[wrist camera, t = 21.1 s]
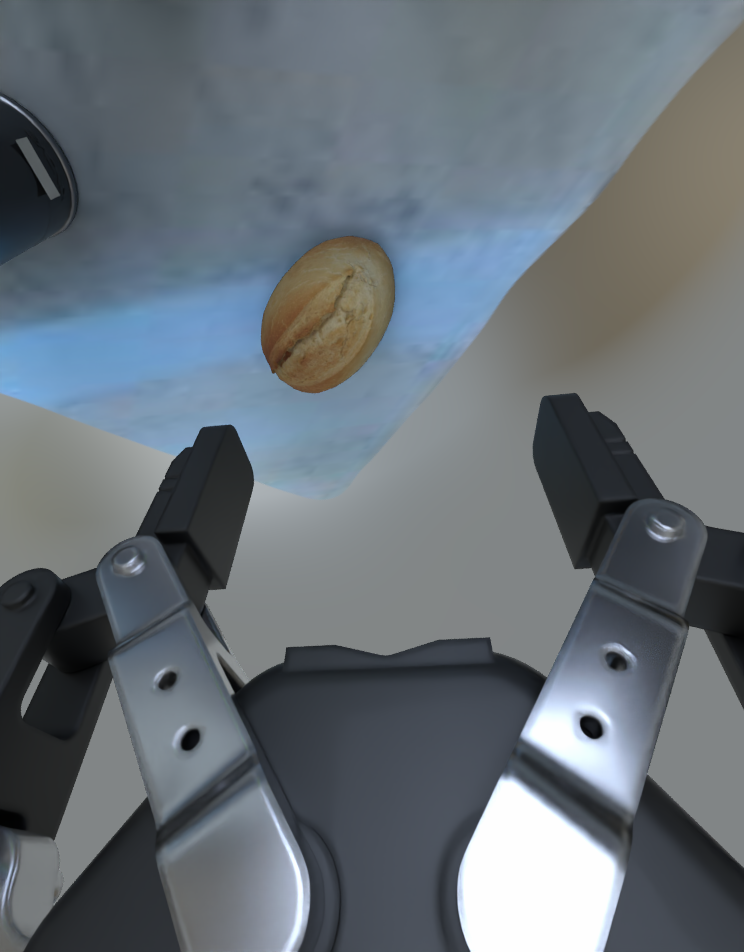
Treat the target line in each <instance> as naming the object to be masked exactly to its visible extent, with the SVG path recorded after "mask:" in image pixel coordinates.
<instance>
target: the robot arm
mask: <svg viewBox="0 0 744 952" xmlns="http://www.w3.org/2000/svg"><path fill="white" fill-rule="evenodd" d="M76 210H77V188H76V184H75V180H74V176H73V173H72V171H71V168H70V166H69V164H68V161H67V159H66V158H65V156H64V154H63V152H62V150H61V149H60V147H59V146H58V144H57V143H56V141H55V140H54V138H53V137H52V136H51V135H50V133H49V132H48V131H47V130H46V129H45V127H44V126H43V125H42V124H41V123H40V122H39V121H38V120H37V119H36V118H35V117H34V116H33V115H32V114H31V113H29V112H28V111H27V110H26V109H25V108H23V107H22V106H21V105H19V104H18V103H16V102H15V101H13V100H12V99H10V98H8V97H7V96H5V95H3V94H1V93H0V266H1V265H3V264H4V263H6V262H8V261H9V260H11V259H13V258H14V257H16V256H18V255H20V254H21V253H23V252H25V251H26V250H28V249H30V248H31V247H33V246H35V245H37V244H39V243H40V242H42V241H44V240H45V239H47V238H49V237H52V236H55V235H57V234H59V233H60V232H62V231H63V230H65V229H66V228H67V227H68V226H69V225H70V224H71V222H72V221H73V219H74V217H75V214H76ZM533 459H534V464H535V467H536V470H537V472H538V475H539V478H540V480H541V483H542V485H543V488H544V491H545V493H546V496H547V498H548V501H549V504H550V506H551V509H552V511H553V514H554V517H555V519H556V522H557V524H558V527H559V530H560V532H561V535H562V538H563V540H564V543H565V545H566V548H567V551H568V553H569V556H570V558H571V561H572V564H573V566H574V569H583V568H592V570H593V573H594V575H595V578H594V579H593V581H592V583H591V586H590V588H589V590H588V592H587V594H586V596H585V598H584V601H583V603H582V605H581V607H580V609H579V611H578V614H577V615H576V618H575V620H574V622H573V624H572V626H571V628H570V631H569V632H568V635H567V637H566V639H565V641H564V643H563V645H562V647H561V650H560V652H559V654H558V656H557V658H556V660H555V662H554V664H553V667H552V669H551V671H550V673H549V675H548V677H545V676H544V675H543V674H541V673H540V672H539V671H537V670H535V669H534V668H532V667H530V666H529V665H527V664H525V663H523V662H521V661H519V660H516V659H515V658H512V657H509V656H506V655H503V654H499V653H495V652H493V651H492V646H491V640H490V637H489V638H470V639H469V638H468V639H448V640H437V641H434V642H430V643H427V644H424V645H421V646H418V647H415V648H412V649H408V650H405V651H402V652H399V653H396V654H392V655H388V656H384V655H378V654H373V653H369V652H364V651H360V650H355V649H351V648H346V647H342V646H337V645H325V646H304V647H288V648H286V654H285V661H284V663H281V664H278V665H276V666H274V667H272V668H270V669H268V670H266V671H264V672H263V673H261V674H259V675H258V676H256V677H255V678H253V679H252V680H251V681H249V679H248V677H247V676H246V674H245V673H244V671H243V670H242V668H241V667H240V665H239V663H238V662H237V660H236V658H235V656H234V654H233V652H232V651H231V649H230V647H229V645H228V643H227V641H226V639H225V637H224V635H223V634H222V632H221V630H220V628H219V626H218V624H217V622H216V620H215V618H214V617H213V615H212V613H211V611H210V609H209V607H208V606H207V604H206V603H205V600H206V597H207V593H208V590H217V589H226V585H227V581H228V578H229V574H230V571H231V567H232V563H233V560H234V556H235V552H236V549H237V545H238V541H239V538H240V534H241V531H242V527H243V523H244V520H245V516H246V512H247V508H248V505H249V501H250V498H251V494H252V490H253V485H254V476H253V470H252V466H251V464H250V461H249V459H248V457H247V454H246V452H245V450H244V447H243V445H242V443H241V440H240V438H239V436H238V433H237V431H236V429H235V428H234V426H232V425H221V426H210V427H203V428H201V430H200V431H199V434H198V436H197V438H196V440H195V442H194V445H193V447H187V448H185V449H184V450H183V451H182V452H181V453H180V454H179V455H178V456H177V457H176V458H175V459H174V460H173V461H172V462H171V465H170V467H169V469H168V471H167V473H166V475H165V479H164V480H163V481H162V483H161V485H160V487H159V492H157V494H156V496H155V497H154V500H153V502H152V504H151V506H150V508H149V510H148V512H147V514H146V516H145V518H144V520H143V522H142V524H141V526H140V528H139V530H138V532H137V534H136V536H135V537H132V538H129V539H126V540H124V541H122V542H120V543H119V544H117V545H116V546H114V547H113V548H112V549H110V550H109V551H108V552H107V553H106V554H105V555H104V557H103V558H102V559H101V561H100V562H99V564H98V566H97V568H94V569H92V570H89V571H86V572H83V573H80V574H77V575H74V576H71V577H68V578H65V579H62V580H61V579H60V578H59V577H58V576H57V575H56V574H54V573H53V572H52V571H51V570H48V569H44V568H37V569H32V570H28V571H25V572H23V573H21V574H19V575H17V576H15V577H13V578H12V579H10V580H8V581H7V582H6V583H4V584H3V585H2V586H1V587H0V952H744V868H743V867H742V866H741V865H740V864H739V863H738V862H737V861H736V860H735V859H734V858H733V857H732V856H731V855H730V854H729V853H728V852H727V851H726V850H725V849H724V848H723V847H722V846H721V845H720V844H719V843H718V842H717V841H715V840H714V839H713V838H712V837H711V836H710V835H709V834H708V833H707V832H706V831H705V830H704V829H703V828H702V827H701V826H700V825H699V824H698V823H697V822H696V821H695V820H694V819H693V818H692V817H691V816H690V815H689V814H687V812H686V811H685V810H684V809H683V808H681V807H680V806H679V805H678V804H677V803H676V802H675V801H674V800H673V799H672V798H671V797H670V796H669V795H668V794H667V793H666V792H665V791H664V790H663V789H662V788H661V787H660V786H659V785H658V784H657V783H656V782H655V781H654V780H653V779H652V778H651V777H650V776H649V775H647V773H648V769H649V766H650V763H651V759H652V755H653V752H654V749H655V745H656V742H657V738H658V734H659V732H660V728H661V725H662V721H663V717H664V714H665V711H666V707H667V704H668V700H669V697H670V694H671V690H672V687H673V683H674V679H675V676H676V673H677V669H678V666H679V663H680V659H681V656H682V652H683V649H684V645H685V642H686V638H687V635H688V630H689V626H692V627H697V628H701V629H704V630H705V632H706V634H707V636H708V638H709V640H710V642H711V644H712V646H713V648H714V650H715V652H716V654H717V656H718V658H719V660H720V662H721V664H722V667H723V668H724V671H725V673H726V675H727V676H728V679H729V681H730V683H731V685H732V687H733V689H734V691H735V692H736V695H737V697H738V699H739V701H740V703H741V705H742V707H743V709H744V533H742V532H736V531H730V530H724V529H718V528H713V527H708V526H705V525H704V523H703V522H702V520H701V519H700V518H699V517H698V516H697V515H696V514H695V513H693V512H692V511H691V510H689V509H688V508H686V507H684V506H682V505H680V504H677V503H675V502H672V501H669V500H665V499H664V498H663V496H662V494H661V493H660V491H659V490H658V488H657V487H656V485H655V484H654V482H653V480H652V479H651V477H650V476H649V474H648V473H647V471H646V469H645V468H644V467H643V465H642V463H641V462H640V460H639V459H638V457H637V455H636V454H634V453H633V449H632V448H631V446H630V445H629V443H628V442H626V440H625V437H624V435H623V434H622V432H621V431H620V429H619V428H618V426H617V424H616V423H614V422H613V421H612V420H610V419H609V418H608V417H606V416H605V415H603V414H602V413H601V412H599V411H597V412H588V411H587V409H586V407H585V406H584V404H583V402H582V401H581V399H580V397H579V396H578V395H577V394H576V393H571V394H560V395H549V396H544V397H543V398H542V400H541V404H540V408H539V414H538V419H537V425H536V430H535V436H534V441H533ZM42 659H43V660H45V661H46V662H48V663H49V664H48V666H47V668H46V670H45V672H44V674H43V676H42V679H41V681H40V683H39V685H38V687H37V689H36V692H35V693H34V696H33V698H32V700H31V702H30V704H29V706H28V708H27V710H26V713H25V715H24V717H23V719H22V716H21V704H22V700H23V698H24V695H25V693H26V691H27V689H28V687H29V685H30V683H31V681H32V679H33V677H34V675H35V672H36V671H37V669H38V666H39V664H40V662H41V660H42ZM112 678H113V679H114V683H115V686H116V690H117V693H118V696H119V700H120V703H121V707H122V710H123V714H124V717H125V720H126V724H127V727H128V731H129V734H130V738H131V741H132V744H133V748H134V751H135V755H136V758H137V762H138V765H139V769H140V772H141V775H142V779H143V782H144V786H145V789H146V793H147V798H146V799H145V800H144V801H143V802H142V803H141V805H140V806H139V807H138V808H137V809H136V810H135V812H134V813H133V814H132V815H131V816H130V817H129V819H128V820H127V821H126V822H125V823H124V825H123V826H122V827H121V828H120V829H119V830H118V832H117V833H116V834H115V835H114V836H113V837H112V838H111V840H110V841H109V842H108V843H107V844H106V845H105V847H104V848H103V849H102V850H101V851H100V853H99V854H98V855H97V856H96V857H95V858H94V859H93V861H92V862H91V863H90V864H89V865H88V867H87V868H86V869H85V870H84V871H83V872H82V874H81V875H80V876H79V877H78V878H77V879H76V881H75V882H74V883H73V884H72V885H71V886H70V888H69V889H68V890H67V891H66V892H65V893H64V895H63V896H62V897H61V898H60V899H59V900H58V902H57V903H56V904H55V905H54V906H53V904H54V903H55V901H56V900H57V898H58V897H59V895H60V892H61V890H62V887H63V874H62V872H61V871H60V870H59V864H60V858H59V851H58V848H57V846H56V843H55V842H54V840H55V837H56V834H57V831H58V828H59V825H60V823H61V820H62V817H63V815H64V812H65V809H66V806H67V803H68V801H69V798H70V795H71V792H72V789H73V787H74V784H75V781H76V778H77V775H78V773H79V770H80V767H81V764H82V762H83V759H84V756H85V753H86V750H87V748H88V745H89V742H90V739H91V737H92V734H93V731H94V728H95V725H96V723H97V720H98V717H99V714H100V712H101V709H102V706H103V703H104V700H105V698H106V695H107V692H108V689H109V686H110V683H111V681H112Z"/></svg>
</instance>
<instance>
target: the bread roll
mask: <svg viewBox="0 0 744 952" xmlns="http://www.w3.org/2000/svg"><path fill="white" fill-rule="evenodd" d="M394 301H395V281H394V274H393V268H392V265H391V262H390V260H389V258H388V257H387V255H386V254H385V252H384V250H383V249H382V248H381V247H380V245H378V243H375V242H373V241H371V240H367V239H364V238H360V237H354V236H346V237H340V238H336V239H331V240H327V241H325V242H323V243H321V244H319V245H317V246H315V247H314V248H312V249H311V250H309V251H308V252H307V253H305V254H304V255H303V256H302V257H301V258H300V259H299V260H298V261H297V262H296V263H295V264H294V265H293V266H292V267H291V268H290V270H289V271H288V272H287V273H286V274H285V275H284V276H283V277H282V279H281V280H280V282H279V283H278V285H277V286H276V288H275V290H274V291H273V293H272V295H271V297H270V299H269V301H268V304H267V306H266V308H265V311H264V314H263V319H262V328H261V345H262V350H263V353H264V355H265V357H266V359H267V362H268V363H269V365H270V368H271V371H272V373H276V374H277V375H278V377H279V379H280V380H282V381H284V382H285V383H287V384H288V385H289V386H291V387H292V388H294V389H296V390H299V391H301V392H307V393H320V392H323V391H325V390H328V389H331V388H334V387H336V386H337V385H339V384H341V383H342V382H344V381H345V380H346V379H348V378H349V377H351V376H352V375H353V374H354V373H355V372H357V371H358V370H359V369H360V368H361V367H362V366H363V364H364V363H365V362H366V361H367V360H368V358H369V357H370V356H371V354H372V353H373V352H374V350H375V349H376V347H377V346H378V344H379V342H380V341H381V339H382V337H383V335H384V333H385V331H386V329H387V327H388V324H389V322H390V319H391V316H392V313H393V308H394Z"/></svg>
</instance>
